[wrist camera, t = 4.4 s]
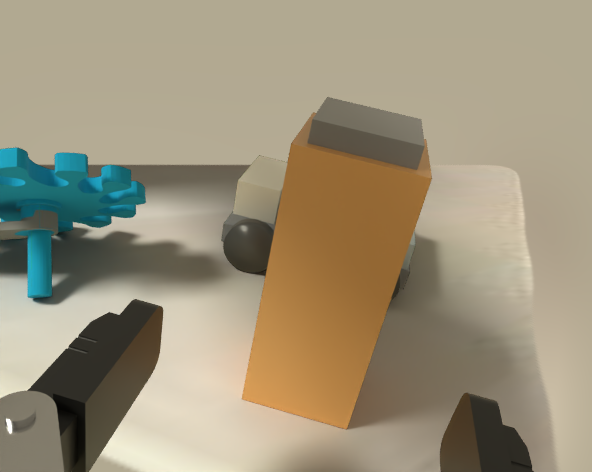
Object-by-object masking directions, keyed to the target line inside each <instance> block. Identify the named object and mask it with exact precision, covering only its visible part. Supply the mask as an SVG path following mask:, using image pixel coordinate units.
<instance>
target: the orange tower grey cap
mask: <svg viewBox="0 0 592 472" xmlns="http://www.w3.org/2000/svg"><path fill="white" fill-rule="evenodd" d="M431 179H432V176H431V169H430V163H429V156H428V150H427V143H426V139H424V137H423V129H422V121H421V119H418V118H413V117H409V116H405V115H400V114H396V113H392V112H388V111H384V110H380V109H376V108H371V107H367V106H363V105H358V104H354V103H350V102H346V101H342V100H338V99H333V98H329V97H327V98H326V100H325V101H324V103H323V104H322V106H321V107H320V109H319V110H318V112H317V113H313V114H312V115H311V117H310V118H309V119H308V121H307V122H306V124H305V125H304V126H303V128H302V129H301V131H300V132H299V133H298V135H297V136H296V138H295V139H294V140H293V142H292V143H291V148H290V153H289V158H288V163H287V168H286V173H285V178H284V184H283V189H282V194H281V199H280V204H279V209H278V214H277V220H276V225H275V230H274V235H273V240H272V245H271V251H270V256H269V261H268V266H267V271H266V276H265V282H264V287H263V292H262V297H261V302H260V307H259V313H258V318H257V323H256V328H255V333H254V338H253V344H252V349H251V354H250V359H249V364H248V369H247V374H246V380H245V385H244V390H243V395H242V399H243V400H247V401H250V402H254V403H257V404H261V405H264V406H268V407H271V408H274V409H278V410H281V411H285V412H288V413H292V414H295V415H299V416H302V417H306V418H309V419H313V420H316V421H319V422H323V423H326V424H330V425H333V426H337V427H340V428H344V429H347V427H348V424H349V422H350V419H351V416H352V413H353V410H354V407H355V404H356V401H357V398H358V395H359V392H360V389H361V386H362V383H363V380H364V377H365V374H366V371H367V368H368V365H369V362H370V359H371V357H372V354H373V351H374V348H375V345H376V342H377V339H378V336H379V333H380V330H381V327H382V324H383V321H384V318H385V315H386V312H387V309H388V306H389V303H390V300H391V297H392V294H393V292H394V289H395V286H396V283H397V280H398V277H399V274H400V271H401V268H402V265H403V262H404V259H405V256H406V253H407V250H408V247H409V244H410V241H411V238H412V235H413V232H414V230H415V227H416V224H417V221H418V218H419V215H420V212H421V209H422V206H423V203H424V200H425V197H426V194H427V191H428V188H429V185H430V182H431Z"/></svg>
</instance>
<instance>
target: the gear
mask: <svg viewBox="0 0 592 472" xmlns="http://www.w3.org/2000/svg"><path fill="white" fill-rule="evenodd" d="M87 176H88V157H87V155H85V154H78V153H57V154H55V170H51V169H47V168H45V167H42V166H40V165H38V164H35V163H34V162H32V161H31V160H30V159H29V157H28V154H27V152H26V151H25V150H23V149H20V148H6V149H0V218H1V222H0V240H6V239H21V238H28V297H29V298H44V297H51V296H52V256H51V236H54V235H56V234H58V232H65V231H71V230H73V222H77V223H82V224H86V225H88V226H90V227H96V228H101V227H104V226H107V225H109V224H111V216H115V217H121V218H131V217H134V216H135V214H136V205H138V204H144V203H146V199H145V187H144V186H143V185H142V184H141V183H139V182H137V181H131V170H129V169H127V168H124V167H120V166H116V165H107V166H104V167H103V168H102V169H101V176H99V177H94V178H89V177H87Z"/></svg>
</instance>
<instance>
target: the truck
mask: <svg viewBox="0 0 592 472" xmlns="http://www.w3.org/2000/svg"><path fill="white" fill-rule="evenodd" d="M287 163H288V162H283V161H280V160H276V159H271V158H268V157H264V156H260V155H259V156H258V157H257V159H256V160H255V161H254V162H253V163H252V164H251V165H250V167H249V168H248V169H247V170H246V171H245V173H244V174H243V175H242V176H241V177H240V178H239V180H238V183H237V190H236V197H235V203H234V210H233V212H232V213H231V214H230V216H229V217H228V218H227V220H226V221H225V222H224V225H223V233H222V240H221V241H223V242H224V244H223V248H224V253H225V256H226V258H227V259H228V261H229V262H230V263H231V264H232V265H233V266H234V267H236V268H237V269H239V270H241V271H244V272H249V273H256V272H261V271H263V270H265V269H266V268H267V266H268V261H269V256H270V251H271V245H272V240H273V235H274V230H275V225H276V220H277V214H278V209H279V204H280V199H281V194H282V189H283V184H284V178H285V173H286V168H287ZM414 249H415V230H414V232H413V235H412V238H411V241H410V244H409V247H408V250H407V253H406V256H405V259H404V262H403V265H402V268H401V271H400V274H399V277H398V280H397V283H396V286H395V289H394V292H393V294H392V297H391V300H392V299H393V298H394V297H395V296H396V295H397V293H398V291H399V288H400V289H404V287H405V284H406V281H407V278H408V275H409V273H410V260H411V257H412V254H413V251H414ZM391 300H390V301H391Z"/></svg>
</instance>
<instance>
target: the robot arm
mask: <svg viewBox="0 0 592 472" xmlns="http://www.w3.org/2000/svg"><path fill="white" fill-rule="evenodd" d="M162 321H163V308H162V307H161V306H158V305H155V304H151V303H147V302H144V301H140V300H137V299H134V300H133V301H131V302H130V304H129V305H128V306H127V307H126V308H125V309H124V311H123V312H122V313H121V314H120V315H117V314H114V313H110V312H109V313H107V314H105V315H103V316H101V317H99V318H97V319H95V320H93V321H92V322H90V323H89V325H88V326H87V327H86V328H85V329H84V330H83V331H82V332H81V333H80V334H79V337H78V338H76V339H75V340H74V341H73V342H72V343H71V344H70V345H69V348H68V349H66V350H65V351H64V352H63V353H62V354H61V355H60V356H59V357H58V358H57V359H56V360H55V361H54V363H53V364H52V365H51V366H50V367H49V368H48V369H47V370H46V371H45V372H44V373H43V374H42V376H41V377H40V378H39V379H38V380H37V381H36V382H35V383H34V384H33V385H32V386H31V388H30V389H28V390H27V391H21V392H16V393H12V394H9V395H7V396H5V397H3V398H1V399H0V472H89V470H90V469H91V468H92V466H93V464H94V463H95V461H96V460H97V458H98V457H99V455H100V454H101V452H102V451H103V449H104V447H105V446H106V444H107V443H108V441H109V440H110V438H111V437H112V435H113V433H114V432H115V430H116V429H117V427H118V426H119V424H120V423H121V421H122V419H123V418H124V416H125V415H126V413H127V412H128V410H129V409H130V407H131V406H132V404H133V402H134V401H135V399H136V398H137V396H138V395H139V393H140V392H141V390H142V388H143V387H144V385H145V384H146V382H147V381H148V379H149V378H150V376H151V374H152V373H153V371H154V369H155V366H156V364H157V361H158V358H159V353H160V345H161V333H162ZM440 466H441V472H533V471H532V464H531V460H530V456H529V452H528V449H527V446H526V445H525V443H524V442H523V440H522V439H521V437H520V436H519V434H518V433H517V431H516V430H515V428H512V427H509V426H505V425H503V424H502V419H501V415H500V410H499V406H498V403H497V402H496V401H494V400H490V399H487V398H483V397H480V396H476V395H473V394H469V393H465V394H464V395H463V396H462V398H461V399H460V402H459V404H458V406H457V408H456V410H455V412H454V414H453V416H452V418H451V421H450V423H449V425H448V427H447V429H446V431H445V433H444V436H443V439H442V443H441V449H440Z"/></svg>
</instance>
